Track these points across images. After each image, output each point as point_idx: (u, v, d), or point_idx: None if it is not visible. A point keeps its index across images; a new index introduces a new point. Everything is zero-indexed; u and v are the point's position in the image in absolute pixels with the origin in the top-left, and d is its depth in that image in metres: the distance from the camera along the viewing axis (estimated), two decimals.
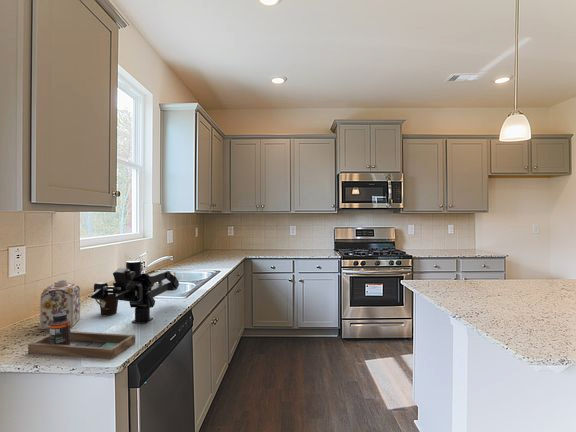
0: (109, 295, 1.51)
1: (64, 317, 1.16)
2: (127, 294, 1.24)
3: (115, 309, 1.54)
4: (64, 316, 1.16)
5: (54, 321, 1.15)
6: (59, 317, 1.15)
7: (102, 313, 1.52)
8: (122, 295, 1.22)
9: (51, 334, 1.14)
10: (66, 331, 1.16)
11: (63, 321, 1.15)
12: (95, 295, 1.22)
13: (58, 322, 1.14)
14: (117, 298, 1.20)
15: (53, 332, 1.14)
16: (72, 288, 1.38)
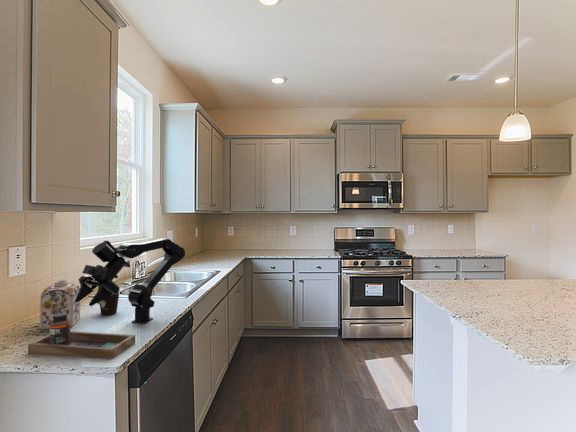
0: None
1: (64, 317, 1.16)
2: (102, 293, 1.24)
3: (115, 309, 1.54)
4: (64, 316, 1.16)
5: (54, 321, 1.15)
6: (59, 317, 1.15)
7: (102, 313, 1.52)
8: (96, 299, 1.22)
9: (51, 334, 1.14)
10: (66, 331, 1.16)
11: (63, 321, 1.15)
12: (79, 297, 1.26)
13: (58, 322, 1.14)
14: (92, 304, 1.21)
15: (53, 332, 1.14)
16: (72, 288, 1.38)
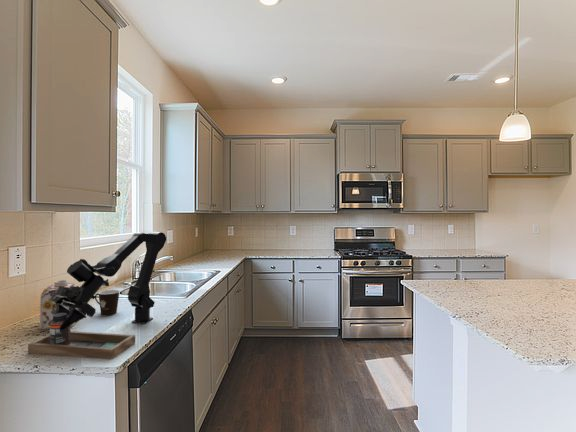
0: (109, 295, 1.51)
1: (64, 317, 1.16)
2: (74, 315, 1.17)
3: (115, 309, 1.54)
4: (64, 316, 1.16)
5: (54, 321, 1.15)
6: (59, 317, 1.15)
7: (102, 313, 1.52)
8: (67, 322, 1.15)
9: (51, 334, 1.14)
10: (66, 331, 1.16)
11: (63, 321, 1.15)
12: None
13: (58, 322, 1.14)
14: (63, 327, 1.14)
15: (53, 332, 1.14)
16: None
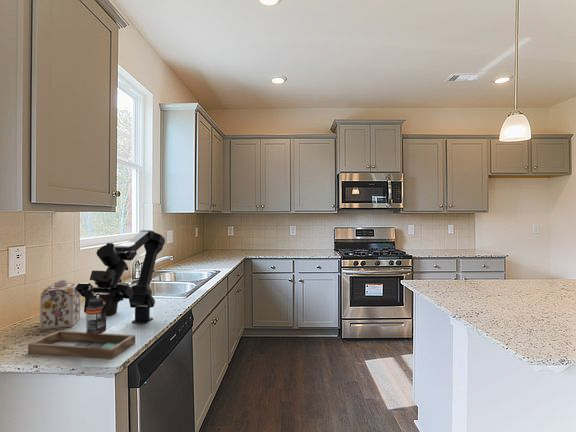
0: None
1: (102, 301, 1.14)
2: (112, 298, 1.16)
3: (115, 309, 1.54)
4: (102, 300, 1.14)
5: (93, 306, 1.12)
6: (98, 302, 1.13)
7: None
8: (108, 305, 1.14)
9: (91, 320, 1.11)
10: (105, 315, 1.14)
11: (102, 305, 1.14)
12: None
13: (98, 307, 1.12)
14: (105, 311, 1.13)
15: (94, 317, 1.11)
16: (72, 288, 1.38)
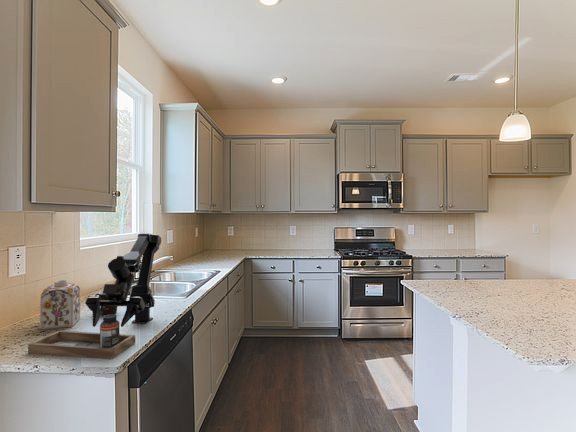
0: None
1: None
2: (130, 311, 1.17)
3: (115, 309, 1.54)
4: None
5: (108, 323, 1.12)
6: (113, 318, 1.14)
7: (102, 313, 1.52)
8: (126, 318, 1.15)
9: (106, 336, 1.12)
10: None
11: (116, 321, 1.15)
12: (96, 321, 1.14)
13: (113, 323, 1.13)
14: (123, 324, 1.14)
15: (110, 333, 1.12)
16: (72, 288, 1.38)
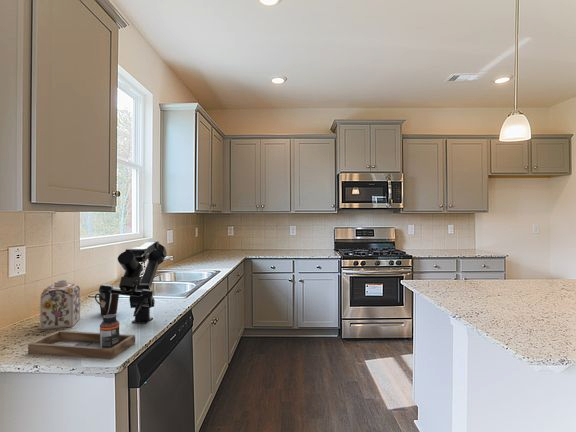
0: None
1: None
2: None
3: (115, 309, 1.54)
4: None
5: (108, 323, 1.12)
6: (113, 318, 1.14)
7: (102, 313, 1.52)
8: (138, 309, 1.26)
9: (106, 336, 1.12)
10: None
11: (116, 321, 1.15)
12: (108, 308, 1.23)
13: (113, 323, 1.13)
14: (135, 314, 1.25)
15: (110, 333, 1.12)
16: (72, 288, 1.38)
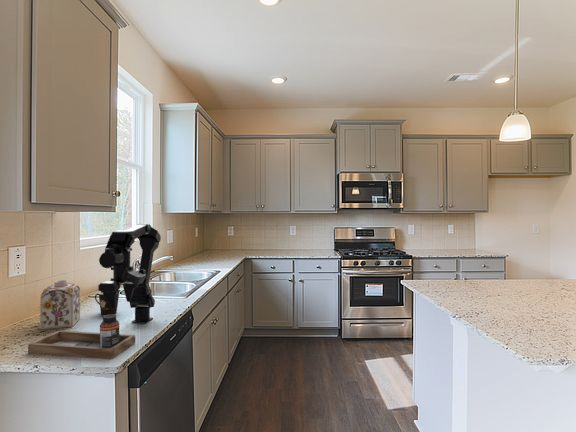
0: None
1: None
2: None
3: (115, 309, 1.54)
4: None
5: (108, 323, 1.12)
6: (113, 318, 1.14)
7: (102, 313, 1.52)
8: None
9: (106, 336, 1.12)
10: None
11: (116, 321, 1.15)
12: None
13: (113, 323, 1.13)
14: None
15: (109, 333, 1.12)
16: (72, 288, 1.38)
